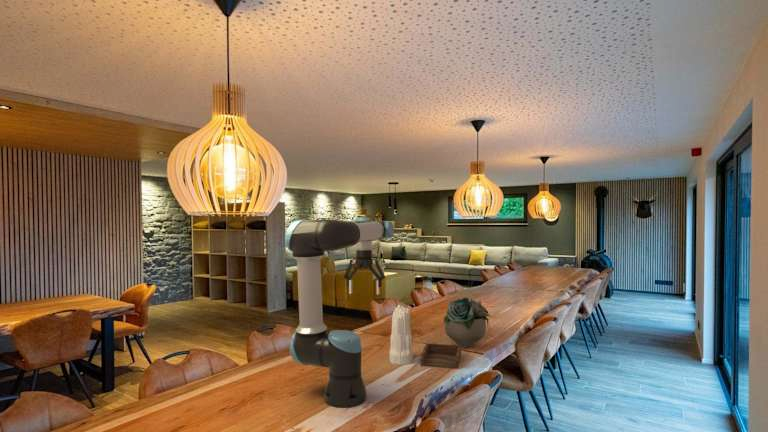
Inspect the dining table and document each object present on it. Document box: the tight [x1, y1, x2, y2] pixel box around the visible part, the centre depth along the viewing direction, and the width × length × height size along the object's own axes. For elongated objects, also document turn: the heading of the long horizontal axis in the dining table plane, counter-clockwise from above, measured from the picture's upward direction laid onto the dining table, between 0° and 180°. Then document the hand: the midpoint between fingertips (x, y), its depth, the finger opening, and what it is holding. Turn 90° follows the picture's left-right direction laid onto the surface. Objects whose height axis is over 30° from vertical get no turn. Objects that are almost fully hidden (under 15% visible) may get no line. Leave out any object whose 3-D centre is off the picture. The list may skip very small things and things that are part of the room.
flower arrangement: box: [443, 297, 491, 348], centre depth 210 cm, size 25×25×24 cm
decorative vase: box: [388, 304, 414, 366], centre depth 187 cm, size 11×11×25 cm
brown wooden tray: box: [420, 343, 462, 370], centre depth 186 cm, size 17×16×5 cm
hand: (364, 293), depth 196 cm, fingers open, 13 cm apart
